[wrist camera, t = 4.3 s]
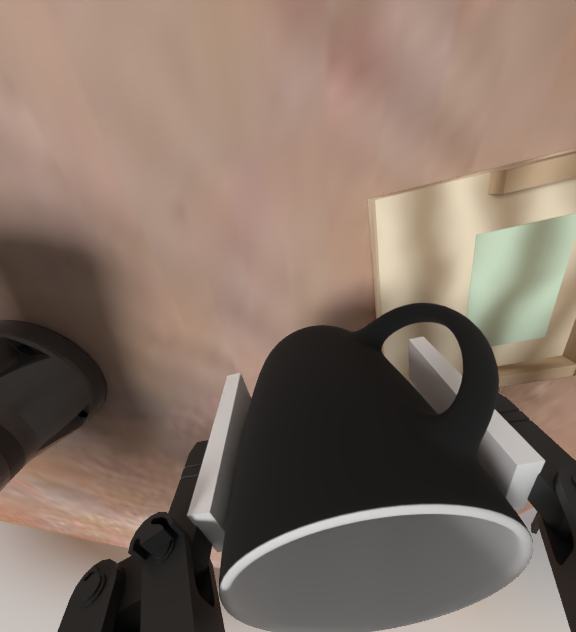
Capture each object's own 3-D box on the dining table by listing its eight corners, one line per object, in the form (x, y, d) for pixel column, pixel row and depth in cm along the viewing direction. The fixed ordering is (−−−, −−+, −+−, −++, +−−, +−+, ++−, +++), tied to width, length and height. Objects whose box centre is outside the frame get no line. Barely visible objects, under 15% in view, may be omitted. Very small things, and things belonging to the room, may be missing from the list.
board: (380, 382, 30) (391, 404, 27) (367, 199, 21) (382, 200, 17) (555, 352, 28) (588, 373, 25) (629, 134, 19) (698, 123, 15)
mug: (330, 428, 19) (384, 643, 10) (224, 386, 16) (167, 626, 7) (448, 308, 15) (733, 496, 6) (329, 225, 12) (504, 326, 3)
